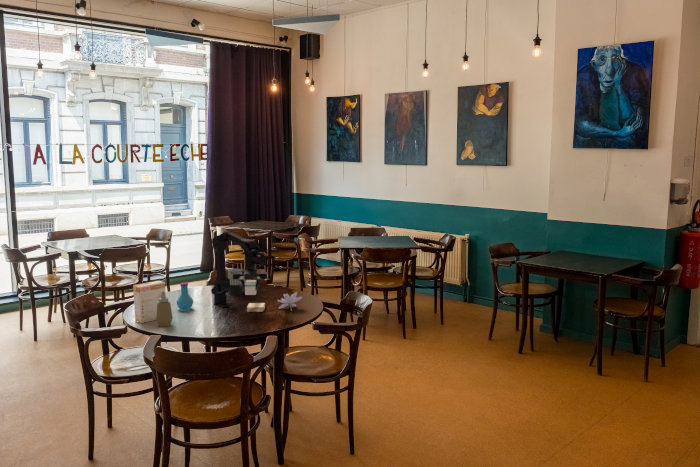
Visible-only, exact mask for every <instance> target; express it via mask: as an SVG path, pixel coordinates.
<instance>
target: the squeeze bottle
mask: <svg viewBox="0 0 700 467" xmlns="http://www.w3.org/2000/svg"><path fill="white" fill-rule="evenodd" d="M165 293H166V291H165V292H164V291H162V294H161V298H159V302H158V303H157V317H156V320H155V321H156V323H157V325H158V326H159V327H161V328H163V327H164V328H166V327H170V326H171V325H172V321H173V312H172V306H171V305H172V304H171V302H170V301H169V297H167V296H166V295H165Z"/></svg>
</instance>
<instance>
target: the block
mask: <svg viewBox="0 0 700 467" xmlns="http://www.w3.org/2000/svg"><path fill="white" fill-rule="evenodd" d="M265 308H266V303H265V302H249V303H248V304H247V306H246V312H247V313H251V312H252V313H260V312H261V313H262V312H263V311H265Z"/></svg>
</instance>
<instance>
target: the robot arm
mask: <svg viewBox="0 0 700 467" xmlns="http://www.w3.org/2000/svg"><path fill="white" fill-rule="evenodd" d="M228 242H232V243H234V244H236V245H238V246H239V247H240V249H241V250H243V251H242V253H241V255H243V256H244V270H243V272H244V274H241V272H235V273H234V274H233V279H238V280H239V281H241V283H242V284H243V291H245V281H246V280H254V278H256V279H255V280H256V291H257V290H258V288H259V285H260V282H261V281H262V280H266V279H268V278H269V273H268V272H267V271H261V272H260V273H258V269H256V265H257V266H258V265H259V266H265V265H266V263H267V260H268V259H267V256H266V255H264V254H265V253H264V252H262V250H261V249H260V248H259V246H258V243H257V241H256V240H254V239H251V238H244V237H243V236H240V235H239V234H236V233H234V232H233V231H232V230H227V231H223V232H222V233H220V234H218V235H216V236H213V237H212V238H211V245H212V249H213V250H214V251H215V262H216V277H215V280H214V286H212V289H211V290H210V292H211V295H214V297H213V298H214V303H213V305H214V306H219V305H223V306H224V305H226V304H227V302H228V295H227V293H229V288H230V279H228V276H227V271H226V252H225V251H226V250H227V249H226V248H227V247H228Z"/></svg>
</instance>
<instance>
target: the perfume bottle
mask: <svg viewBox="0 0 700 467" xmlns="http://www.w3.org/2000/svg"><path fill="white" fill-rule="evenodd" d="M179 285H180V291H181V292H180V293H181V294H180V295H179V297H178V299H177V300H176V301H175V302H176V305H177V307H178V308H179V310H178V311H182V312H184V311H185V312H186V311H190V310H192V307H193V304H194V300H193V298H192V297H191V296H190V294H189V293H188V292H189V290H188V286H189V283H188V282H181V283H179Z"/></svg>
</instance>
